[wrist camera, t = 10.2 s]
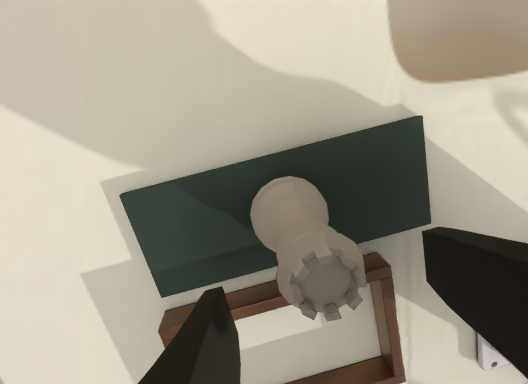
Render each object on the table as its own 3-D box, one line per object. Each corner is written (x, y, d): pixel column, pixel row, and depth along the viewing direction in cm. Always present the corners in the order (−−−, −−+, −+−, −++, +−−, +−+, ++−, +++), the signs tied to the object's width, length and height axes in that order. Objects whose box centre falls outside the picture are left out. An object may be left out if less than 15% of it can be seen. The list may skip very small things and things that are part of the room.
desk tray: (376, 251, 19) (391, 265, 17) (392, 360, 21) (406, 382, 20) (164, 310, 18) (157, 331, 16) (207, 414, 21) (205, 441, 19)
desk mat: (418, 115, 16) (422, 115, 16) (427, 221, 18) (431, 223, 18) (121, 193, 16) (118, 195, 16) (162, 294, 18) (161, 298, 17)
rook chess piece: (249, 175, 16) (262, 228, 8) (324, 173, 16) (403, 223, 9) (249, 246, 17) (262, 350, 9) (320, 242, 18) (386, 340, 10)
